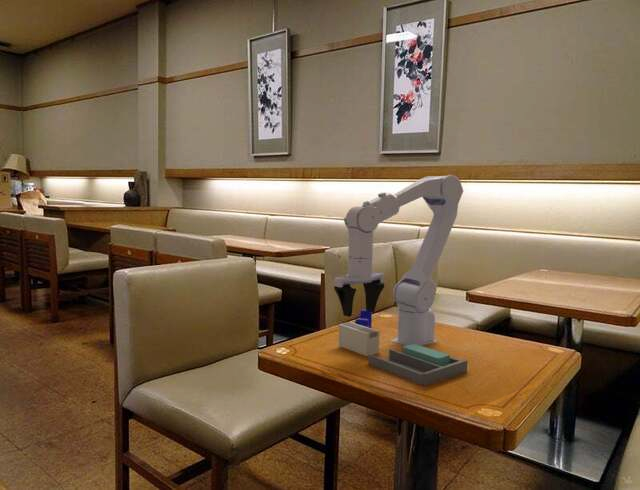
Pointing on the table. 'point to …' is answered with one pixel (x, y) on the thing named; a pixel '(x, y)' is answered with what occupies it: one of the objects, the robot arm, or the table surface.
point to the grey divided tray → (418, 367)
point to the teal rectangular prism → (427, 354)
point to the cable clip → (365, 319)
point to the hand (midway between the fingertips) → (359, 313)
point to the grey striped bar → (359, 338)
